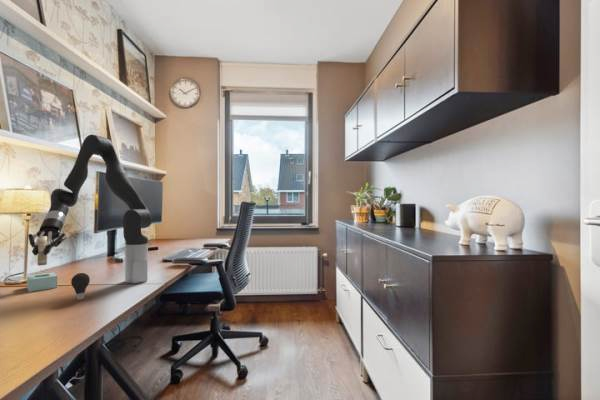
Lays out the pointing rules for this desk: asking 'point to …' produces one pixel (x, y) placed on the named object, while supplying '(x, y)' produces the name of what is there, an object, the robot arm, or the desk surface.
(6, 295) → the desk surface
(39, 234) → the robot arm
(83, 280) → the light bulb
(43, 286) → the bead block
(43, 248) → the dowel
